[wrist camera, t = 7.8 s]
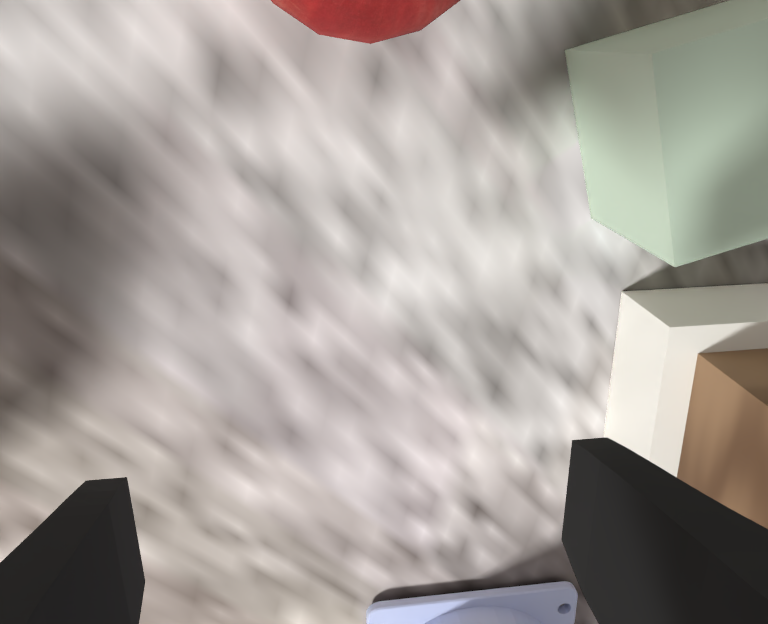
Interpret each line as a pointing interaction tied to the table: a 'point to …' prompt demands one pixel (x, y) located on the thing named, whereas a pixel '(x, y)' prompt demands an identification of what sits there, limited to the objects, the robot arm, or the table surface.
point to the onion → (365, 16)
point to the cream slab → (673, 359)
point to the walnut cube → (729, 431)
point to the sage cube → (678, 130)
